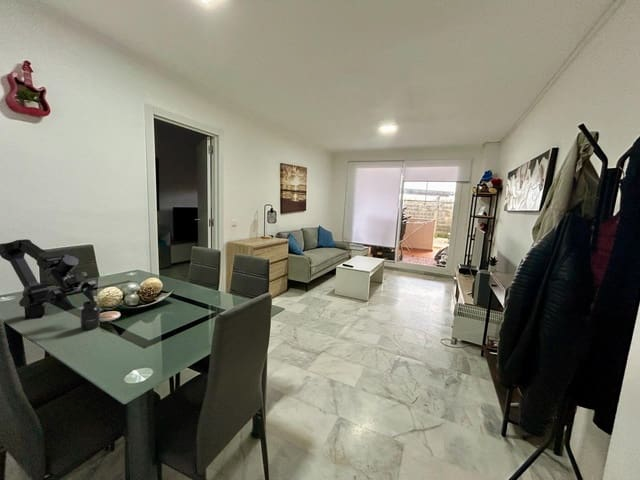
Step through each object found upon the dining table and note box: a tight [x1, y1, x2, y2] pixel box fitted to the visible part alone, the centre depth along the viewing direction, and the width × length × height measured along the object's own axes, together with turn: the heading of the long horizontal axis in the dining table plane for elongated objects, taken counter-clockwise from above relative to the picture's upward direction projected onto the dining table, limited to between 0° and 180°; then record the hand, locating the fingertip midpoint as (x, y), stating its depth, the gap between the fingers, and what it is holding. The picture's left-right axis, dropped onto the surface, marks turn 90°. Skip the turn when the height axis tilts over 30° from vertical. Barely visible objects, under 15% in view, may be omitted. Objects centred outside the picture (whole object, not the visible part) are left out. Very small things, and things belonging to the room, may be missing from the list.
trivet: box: [100, 310, 121, 322], centre depth 136 cm, size 10×10×1 cm
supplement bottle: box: [79, 300, 101, 331], centre depth 124 cm, size 7×7×12 cm
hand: (83, 304), depth 124 cm, fingers open, 9 cm apart
